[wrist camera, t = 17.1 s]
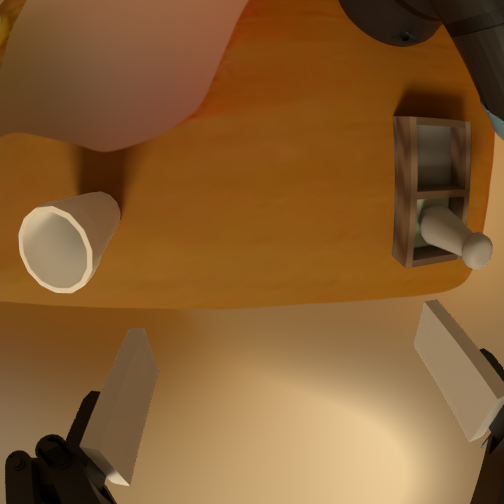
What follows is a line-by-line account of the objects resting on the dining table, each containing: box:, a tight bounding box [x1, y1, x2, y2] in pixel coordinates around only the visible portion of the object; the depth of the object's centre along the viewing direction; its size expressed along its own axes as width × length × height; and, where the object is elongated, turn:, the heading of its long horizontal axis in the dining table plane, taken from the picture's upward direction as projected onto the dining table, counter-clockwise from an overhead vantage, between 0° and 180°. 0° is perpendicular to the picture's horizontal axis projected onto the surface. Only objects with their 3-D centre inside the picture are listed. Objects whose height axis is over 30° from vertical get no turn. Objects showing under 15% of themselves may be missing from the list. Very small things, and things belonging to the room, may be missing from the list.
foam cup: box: [19, 191, 121, 293], centre depth 33 cm, size 10×9×13 cm
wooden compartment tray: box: [392, 116, 471, 268], centre depth 37 cm, size 20×10×4 cm, turn 6°
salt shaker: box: [418, 205, 492, 270], centre depth 35 cm, size 6×6×13 cm
